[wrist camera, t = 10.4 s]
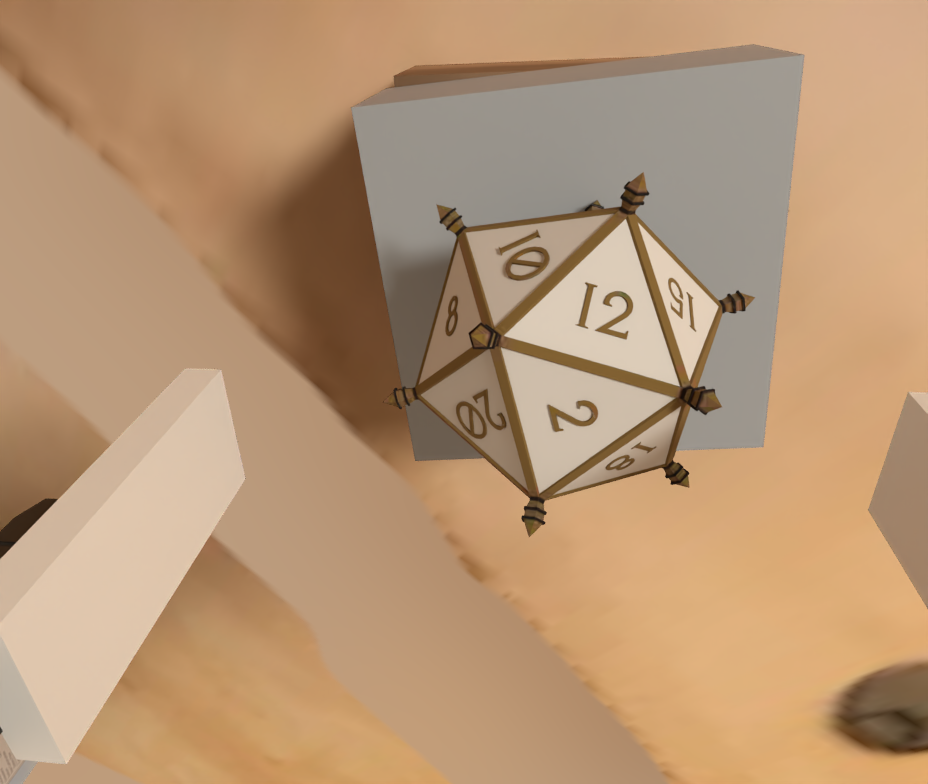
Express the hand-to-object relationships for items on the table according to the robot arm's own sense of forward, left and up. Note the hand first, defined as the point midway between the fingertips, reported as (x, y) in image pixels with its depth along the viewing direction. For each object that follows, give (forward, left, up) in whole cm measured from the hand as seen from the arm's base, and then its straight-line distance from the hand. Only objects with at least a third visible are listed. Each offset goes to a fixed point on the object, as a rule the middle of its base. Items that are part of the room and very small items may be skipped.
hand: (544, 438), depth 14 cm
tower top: (0, +1, -14) cm, 14 cm away
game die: (0, +1, -9) cm, 9 cm away
